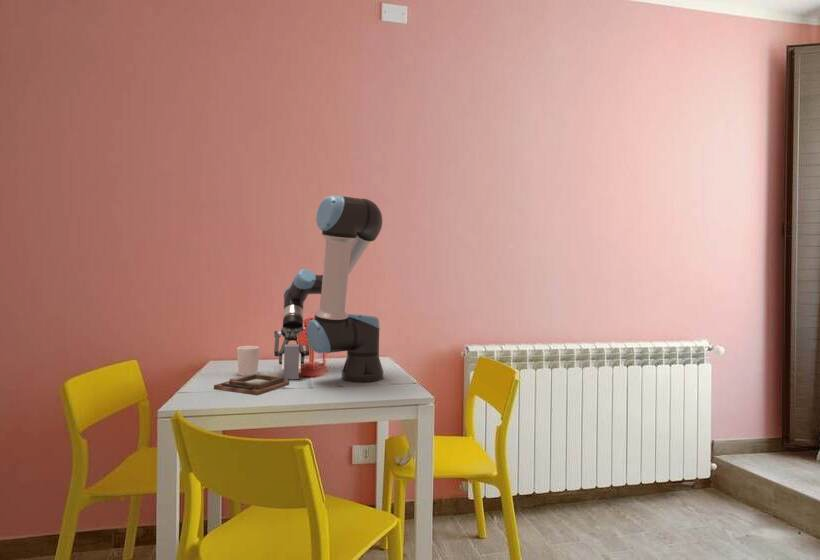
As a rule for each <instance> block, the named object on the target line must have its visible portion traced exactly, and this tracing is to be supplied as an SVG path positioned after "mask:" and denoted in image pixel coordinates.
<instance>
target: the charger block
mask: <svg viewBox="0 0 820 560" xmlns="http://www.w3.org/2000/svg"><path fill="white" fill-rule="evenodd" d="M299 354H300V352H299V344H297V343H295V344H294V343H293V344H292V343H291V344H289V343H288V344H286V345H285V346H284V373H283V377H284V381H289V380H288V379H299V377H300V373H299Z"/></svg>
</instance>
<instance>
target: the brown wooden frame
mask: <svg viewBox="0 0 820 560" xmlns="http://www.w3.org/2000/svg"><path fill="white" fill-rule="evenodd" d="M288 384H289V385H290V380H284V376H282V377H281V376H275V375H267V374H258V373H257V374H253V375H250V376H236V377H232V378H230V379H229V380H228V381H225V382H221V383H217V384H214V385H213V389H214V390H218V389H219V391H224V392H225V391H227V392H234V393H241V394H246V395H247V394H249V395H255V396H259V395H262V394H266V393H268V392H272V391H275V390H278V389H280V388H283V386H284V387H286V385H287V386H289V385H288Z"/></svg>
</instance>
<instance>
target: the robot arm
mask: <svg viewBox="0 0 820 560" xmlns="http://www.w3.org/2000/svg"><path fill="white" fill-rule="evenodd" d="M316 225H317V227H318V229H319V230H321V231H322V232H321V236H323V238H324V239H325V247H324V248H325V249H324V259H323V270H322V274H315V273H314V272H313V271H312V270H309V269H308V268H303V269H300V270H298V272H297V273H296V274H295V276H293V281H292V282H291V284H290V285H289V286H287V287H286V288H285V289H284V294H283V311H282V313H283V315H282V328H281V330H279V331H277V330H274V331H273V334H274V335H273V336H274V349H273V350H274V351H273V353H274V357H278V364H279V365H281V374H284V346H285V345H286V344H289V342H291V341H294V342H296V343H295V344H298V342H297V335H298V334H299V333H300V332H301V331H303V330H304V331H305V329H304V303H305V302H306V299H307V297H308V295H320V301H319V302H320V304H319V309H318V310H316V311H315V312H314V317H313V318H314V319H311V320H309V321H308V323H307V325H306V331H307V338H308V342H309V345H306V344H305V350H304V347H303V344H302V345H300V344H299V374H301V373H302V370H301V369H302V365H304V364H305V357H307V356H309V355H310V348H311V349H312V350H313V352H314V353H317V354H330V353H340V352H346V359H345V362H344V365H343V368H342V371H341V379H343V380H344V381H347V380H348V382H354V381H358V382H357V383H364V382H363V381H370V382H375V381H374V380H377V381H380V380H379V379H381V378H383V379H384V369H383V366H382V363H381V360H380V330H381V328H380V319H379V318H378V317H377V316H372V315H366V314H358V313H347V311H346V301H347V291H348V281H349V275H350V273H351V272H352V270H353V269H354V268H355V266H356V264H357V263H358V261H359V260H360V258H361V257H362V255H363V253H365V251H366V249H367V248H368V247H369V245H370V243H372V242H374V241H375V240H376V239H377V237H378V236H379V235H380V233H381V230H382V227H383V214H382V212H381V209H380V208H379V207H378V205H377V204H376V202H374V201H372V200H370V199H369V198H368V199H367V198H358V197H351V196H350V197H349V196H342V195H327V196H326V197H324V198H323V200H322V201H321V202H320V203H319V206H318V208H317V212H316ZM281 335H282V337H283V342H282V345H281V347H280V349H279V346H280V345H279V344H280V338H281ZM381 380H382V379H381Z"/></svg>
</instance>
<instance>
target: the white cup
mask: <svg viewBox="0 0 820 560" xmlns="http://www.w3.org/2000/svg"><path fill="white" fill-rule="evenodd" d="M236 352H237V367H238V369H237V371H238V372H237V373H238V376H240V377H246V376H250V375H253V374H258V372H259V371H258V370H259V361H260V360H259V359H260V347H259V346H258V345H243V346H238V347H237V348H236Z"/></svg>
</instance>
